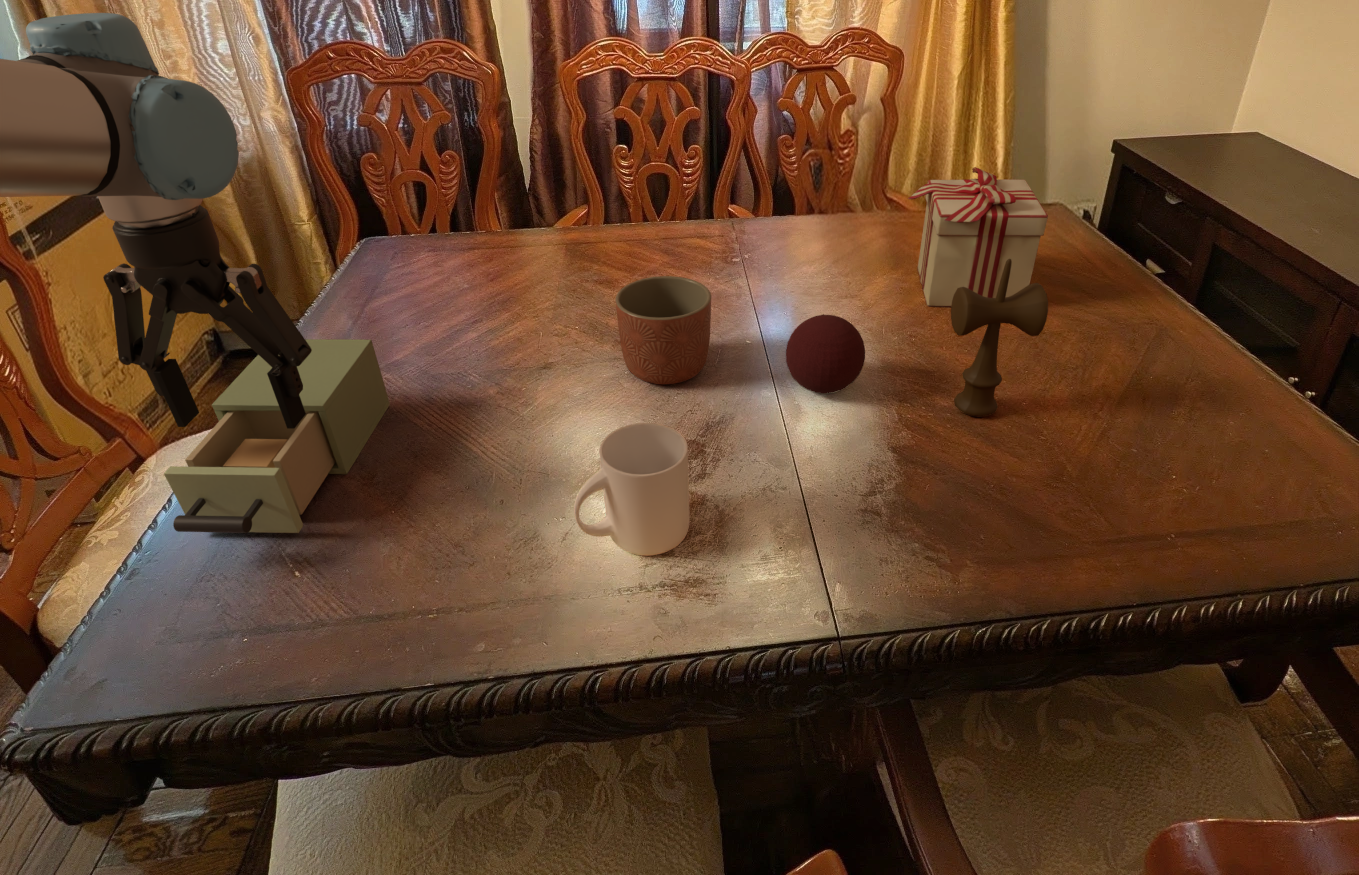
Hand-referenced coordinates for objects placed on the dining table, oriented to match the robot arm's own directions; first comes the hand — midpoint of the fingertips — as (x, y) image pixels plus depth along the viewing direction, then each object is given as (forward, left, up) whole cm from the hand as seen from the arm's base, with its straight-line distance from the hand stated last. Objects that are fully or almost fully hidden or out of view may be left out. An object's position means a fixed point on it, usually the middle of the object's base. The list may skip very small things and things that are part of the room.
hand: (242, 420), depth 83 cm
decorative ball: (+65, -14, -11) cm, 68 cm away
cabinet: (+6, +10, -11) cm, 16 cm away
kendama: (+78, -28, -11) cm, 84 cm away
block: (0, 0, -9) cm, 9 cm away
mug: (+31, -26, -11) cm, 42 cm away
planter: (+50, +1, -11) cm, 52 cm away
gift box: (+101, -3, -11) cm, 102 cm away
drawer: (-1, -2, -10) cm, 10 cm away
